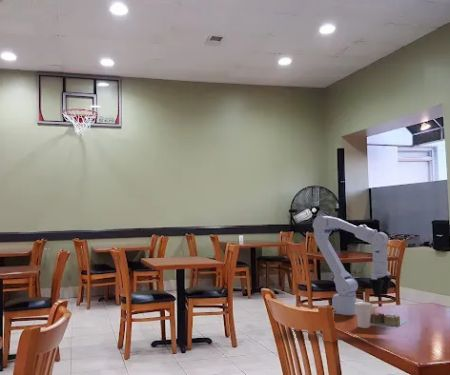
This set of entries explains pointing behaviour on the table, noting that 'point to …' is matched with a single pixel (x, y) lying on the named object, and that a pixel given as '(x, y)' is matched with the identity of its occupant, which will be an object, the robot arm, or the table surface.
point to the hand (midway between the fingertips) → (380, 295)
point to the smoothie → (363, 313)
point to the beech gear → (392, 320)
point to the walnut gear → (377, 318)
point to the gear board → (388, 325)
